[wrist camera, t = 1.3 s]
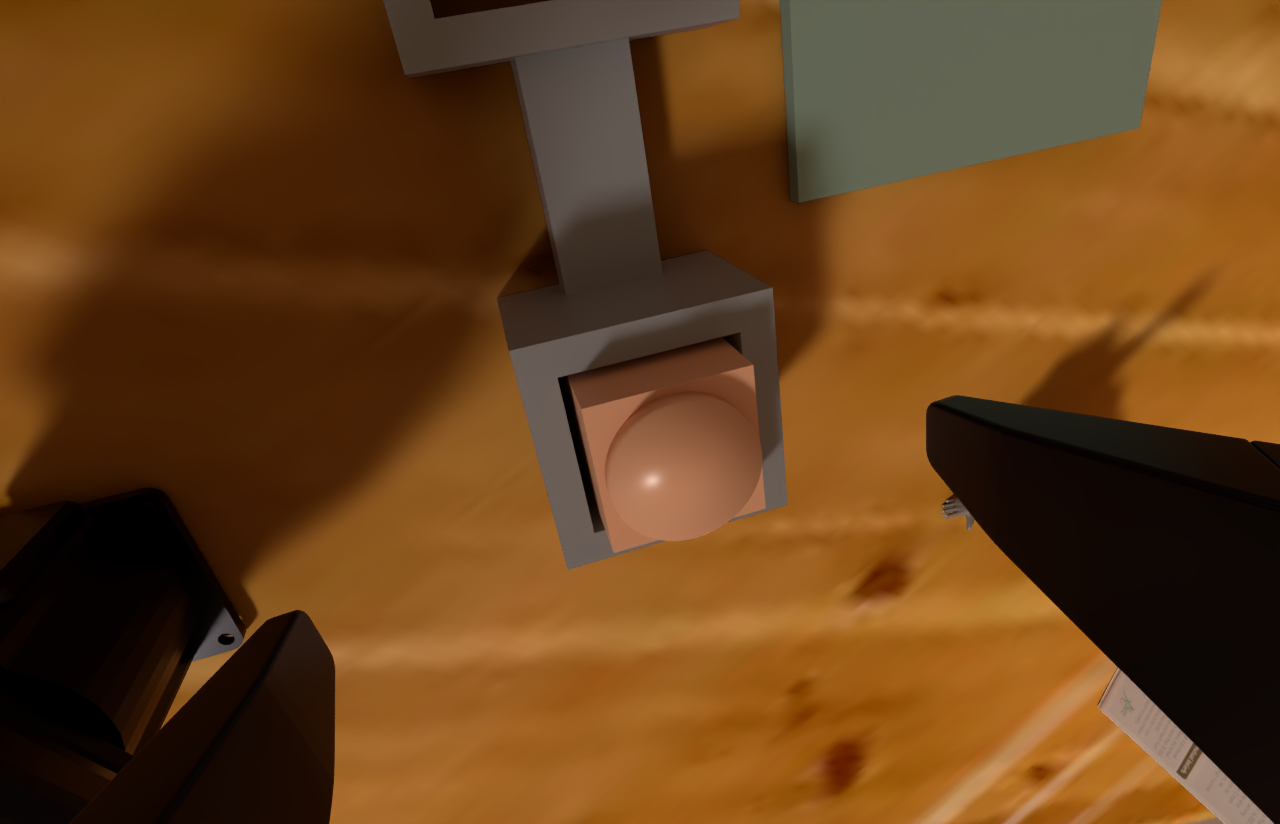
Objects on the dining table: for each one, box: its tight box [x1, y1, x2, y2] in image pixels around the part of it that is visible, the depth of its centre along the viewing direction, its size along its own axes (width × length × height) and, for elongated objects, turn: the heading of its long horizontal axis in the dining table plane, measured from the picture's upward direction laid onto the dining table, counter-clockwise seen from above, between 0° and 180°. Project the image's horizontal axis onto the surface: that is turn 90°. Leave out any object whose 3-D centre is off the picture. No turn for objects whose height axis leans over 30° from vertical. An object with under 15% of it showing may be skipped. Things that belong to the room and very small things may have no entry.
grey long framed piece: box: [383, 0, 787, 570], centre depth 17 cm, size 22×8×5 cm, turn 9°
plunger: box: [561, 337, 766, 553], centre depth 19 cm, size 4×4×6 cm
